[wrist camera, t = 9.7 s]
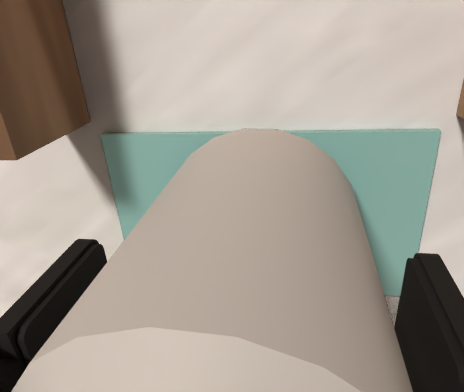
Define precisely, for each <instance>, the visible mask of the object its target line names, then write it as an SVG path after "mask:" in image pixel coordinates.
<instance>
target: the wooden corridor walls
mask: <svg viewBox="0 0 464 392" xmlns="http://www.w3.org/2000/svg"><path fill="white" fill-rule="evenodd" d="M456 115H458V116H459V117H461V118H462V119H464V80H463V85H462V90H461V95H460V100H459V104H458V109H457V114H456ZM89 122H90V119H89V115H88V110H87V106H86V102H85V98H84V93H83V89H82V85H81V80H80V76H79V72H78V68H77V63H76V59H75V55H74V50H73V46H72V42H71V38H70V33H69V29H68V25H67V21H66V16H65V12H64V8H63V3H62V0H0V160H18V159H20V158H22V157H24V156H26V155H28V154H30V153H32V152H34V151H35V150H37V149H39V148H41V147H43V146H45V145H47V144H49V143H51V142H53V141H55V140H56V139H58V138H60V137H62V136H64V135H66V134H68V133H70V132H72V131H74V130H76V129H78V128H79V127H81V126H83V125H85V124H87V123H89Z"/></svg>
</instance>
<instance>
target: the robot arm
mask: <svg viewBox="0 0 464 392" xmlns="http://www.w3.org/2000/svg"><path fill="white" fill-rule="evenodd" d="M106 263H107V259H106V255H105V252H104V248H103V246H102V245H101V244H99V243H98V241H97V240H92V239H78V240H76V241H75V242H74V243H73V244H72V245H71V246H70V247H69V248H68V249H67V250H66V251H65V252H64V253H63V254H62V255H61V256H60V257H59V258H58V259H57V260H56V261H55V262H54V263H53V264H52V265H51V266H50V268H49V269H48V270H47V271H46V272H45V273H44V274H43V275H42V276H41V277H40V278H39V279H38V280H37V281H36V282H35V283H34V284H33V285H32V286H31V287H30V288H29V289H28V290H27V291H26V292H25V293H24V294H23V295H22V296H21V297H20V298H19V299H18V300H17V301H16V302H15V303H14V304H13V305H12V306H11V307H10V308H9V309H8V310H7V311H6V313H5V314H4V315H3V316H2V317H1V318H0V392H11V391H12V390H13V388H14V387H15V385H16V384H17V382H18V380H19V379H20V377H21V376H22V374H23V373H24V371H25V369H26V368H27V366H28V365H29V363H30V362H31V361H32V359H33V358H34V357H35V355H36V354H37V353H38V351H39V350H40V349H41V348H42V346H43V345H44V344H45V342H46V341H47V340H48V338H49V337H50V336H51V335H52V333H53V332H54V331H55V329H56V328H57V327H58V326H59V324H60V323H61V322H62V320H63V319H64V318H65V316H66V315H67V314H68V313H69V311H70V310H71V309H72V307H73V306H74V305H75V303H76V302H77V301H78V300H79V298H80V297H81V296H82V294H83V293H84V292H85V290H86V289H87V288H88V287H89V285H90V284H91V283H92V281H93V280H94V279H95V277H96V276H97V275H98V274H99V272H100V271H101V270H102V268H103V267H104V266H105V265H106ZM394 329H395V333H396V336H397V340H398V343H399V346H400V350H401V353H402V356H403V360H404V363H405V366H406V370H407V373H408V377H409V380H410V383H411V387H412V390H413V392H464V298H463V296H462V294H461V292H460V291H459V289H458V287H457V285H456V284H455V282H454V280H453V278H452V277H451V275H450V273H449V271H448V269H447V268H446V266H445V264H444V262H443V261H442V259H441V257H440V256H439V255H438V254H425V253H416V254H415V255H414V257H413V258H408V259H407V261H406V266H405V272H404V277H403V283H402V289H401V294H400V300H399V305H398V311H397V316H396V322H395V328H394Z"/></svg>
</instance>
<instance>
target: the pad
mask: <svg viewBox="0 0 464 392" xmlns="http://www.w3.org/2000/svg"><path fill="white" fill-rule="evenodd" d="M284 132H287V133H290V134H293V135H296V136H299V137H302V138H304V139H307V140H309V141H311V142H312V143H313V144H315V145H316V146H317V147H319V148H320V149H321V150H323V151H324V152H325V153H327V154H328V155H329V156H331V157H332V158H333V159H335V161H336V162H337V164H338V165H339V167H340V168H341V170H342V171H343V173H344V174H345V176H346V177H347V179H348V180H349V182H350V183H351V185H352V188H353V192H354V195H355V198H356V202H357V205H358V208H359V212H360V215H361V218H362V222H363V225H364V229H365V232H366V235H367V239H368V242H369V245H370V249H371V252H372V255H373V259H374V262H375V266H376V269H377V272H378V276H379V279H380V282H381V286H382V289H383V292H384V295H386V296H400V294H401V289H402V283H403V277H404V272H405V266H406V261H407V259H408V258H413V257H414V255H415V254H416V253H418V250H419V245H420V239H421V234H422V229H423V224H424V218H425V213H426V208H427V203H428V197H429V192H430V187H431V182H432V177H433V171H434V166H435V161H436V156H437V150H438V145H439V140H440V135H441V131H440V130H439V129H386V130H314V131H284ZM227 133H231V132H168V133H104V134H102V135H100V136H101V140H102V145H103V149H104V154H105V158H106V163H107V167H108V171H109V176H110V180H111V185H112V189H113V194H114V198H115V203H116V207H117V211H118V216H119V220H120V225H121V229H122V234H123V238H124V240H125V239H126V237H127V236H128V235H129V233H130V232H131V231H132V229H133V228H134V227H135V226H136V224H137V223H138V222H139V220H140V219H141V218H142V217H143V215H144V214H145V213H146V211H147V210H148V209H149V207H150V206H151V205H152V204H153V202H154V201H155V200H156V198H157V197H158V196H159V194H160V193H161V192H162V191H163V189H164V188H165V187H166V185H167V184H168V183H169V181H170V180H171V179H172V178H173V176H174V175H175V174H176V172H177V171H178V170H179V169H180V167H181V166H182V165H183V163H184V162H185V161H186V159H187V158H188V157H189V156H190V154H192V153H193V152H194V151H196V150H197V149H199V148H200V147H201V146H203V145H204V144H206V143H207V142H208V141H210V140H211V139H213V138H214V137H217V136H221V135H224V134H227Z"/></svg>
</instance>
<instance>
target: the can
mask: <svg viewBox="0 0 464 392" xmlns="http://www.w3.org/2000/svg"><path fill="white" fill-rule="evenodd" d="M11 392H413V390H412V387H411V383H410V380H409V377H408V373H407V370H406V366H405V363H404V360H403V356H402V353H401V350H400V346H399V343H398V340H397V336H396V333H395V329H394V326H393V323H392V319H391V316H390V313H389V309H388V306H387V303H386V299H385V296H384V292H383V289H382V286H381V282H380V279H379V276H378V272H377V269H376V266H375V262H374V259H373V255H372V252H371V249H370V245H369V242H368V239H367V235H366V232H365V229H364V225H363V222H362V218H361V215H360V212H359V208H358V205H357V202H356V198H355V195H354V192H353V188H352V185H351V183H350V182H349V180H348V179H347V177H346V176H345V174H344V173H343V171H342V170H341V168H340V167H339V165H338V164H337V162H336V161H335V159H333V158H332V157H331V156H329V155H328V154H327V153H325V152H324V151H323V150H321V149H320V148H319V147H317V146H316V145H315V144H313V143H312V142H311V141H309V140H307V139H304V138H302V137H299V136H296V135H293V134H290V133H287V132H284V131H281V130H278V129H247V128H244V129H241V130H237V131H234V132H231V133H227V134H224V135H221V136H217V137H214V138H213V139H211V140H210V141H208V142H207V143H206V144H204V145H203V146H201V147H200V148H199V149H197V150H196V151H194V152H193V153H192V154H190V156H189V157H188V158H187V159H186V161H185V162H184V163H183V165H182V166H181V167H180V169H179V170H178V171H177V172H176V174H175V175H174V176H173V178H172V179H171V180H170V181H169V183H168V184H167V185H166V187H165V188H164V189H163V191H162V192H161V193H160V194H159V196H158V197H157V198H156V200H155V201H154V202H153V204H152V205H151V206H150V207H149V209H148V210H147V211H146V213H145V214H144V215H143V217H142V218H141V219H140V220H139V222H138V223H137V224H136V226H135V227H134V228H133V229H132V231H131V232H130V233H129V235H128V236H127V237H126V239H125V240H124V241H123V242H122V244H121V245H120V246H119V248H118V249H117V250H116V252H115V253H114V254H113V255H112V257H111V258H110V259H109V261H108V262H107V263H106V265H105V266H104V267H103V268H102V270H101V271H100V272H99V274H98V275H97V276H96V277H95V279H94V280H93V281H92V283H91V284H90V285H89V287H88V288H87V289H86V290H85V292H84V293H83V294H82V296H81V297H80V298H79V300H78V301H77V302H76V303H75V305H74V306H73V307H72V309H71V310H70V311H69V313H68V314H67V315H66V316H65V318H64V319H63V320H62V322H61V323H60V324H59V326H58V327H57V328H56V329H55V331H54V332H53V333H52V335H51V336H50V337H49V338H48V340H47V341H46V342H45V344H44V345H43V346H42V348H41V349H40V350H39V351H38V353H37V354H36V355H35V357H34V358H33V359H32V361H31V362H30V363H29V365H28V366H27V368H26V369H25V371H24V373H23V374H22V376H21V377H20V379H19V380H18V382H17V384H16V385H15V387H14V388H13V390H12V391H11Z"/></svg>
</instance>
